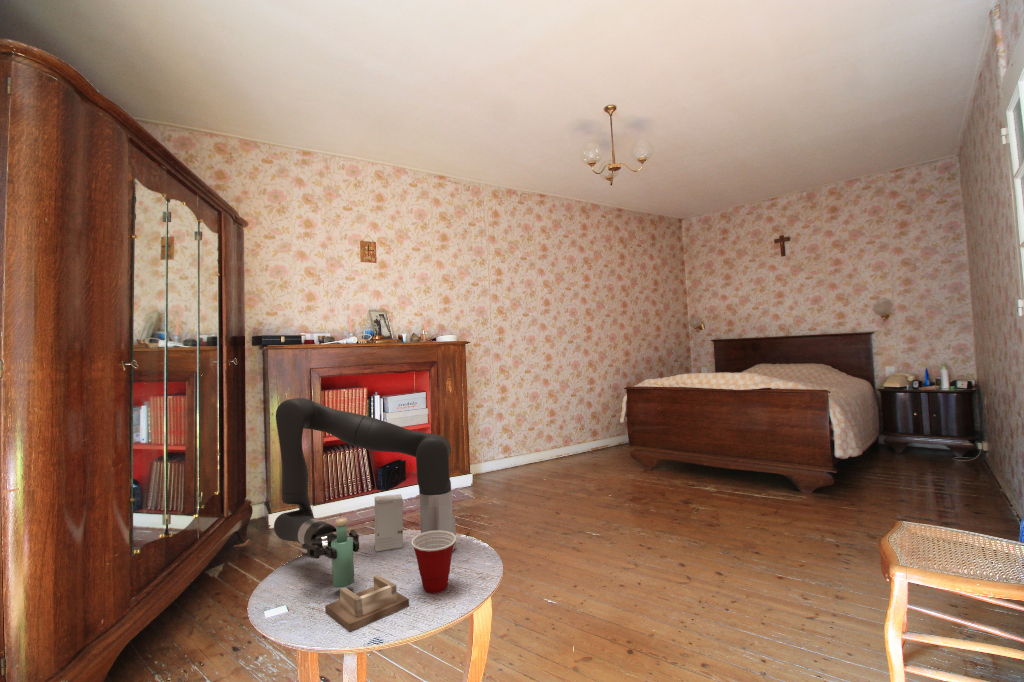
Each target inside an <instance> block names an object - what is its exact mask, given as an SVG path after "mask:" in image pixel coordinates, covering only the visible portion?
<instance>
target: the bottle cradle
mask: <svg viewBox="0 0 1024 682" xmlns="http://www.w3.org/2000/svg"><path fill="white" fill-rule="evenodd" d="M372 579H373V586H372V587H369V588H367V589H365V590H361V591H359V592H356V593H354V592H353V591H351V590H350V589H348V588H347V587H341V588H339V599H337V600H336V601H334V602H331V603H328V604H326V605H324V606H325V607H324V609H325V610H324V611H325V612H324V613H326V614H327V616H329V617H330V618H332V619H333V620H334V621H335V622H337V623H338V624H339V625H341V626H342V627H343V628H344V629H345V630H347V631H348V632H352V631H355V630H357V629H359V628H362V627H364V626H366V625H369V624H371V623H373V622H376V621H378V620H380V619H383V618H384V617H388V616H389V615H391V614H394V613H396V612H398V611H401V610H403V609H405V608H408V607H410V599H409V598H408V597H406V596H404V595H402V594H401V593H399V592H397V591H398V590H397V584H395V583H393V582H392V581H390V580H388V579H387V578H385V577H383V576H381V575H379V574H377V575H374V576H373V578H372Z"/></svg>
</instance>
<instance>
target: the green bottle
mask: <svg viewBox="0 0 1024 682" xmlns="http://www.w3.org/2000/svg"><path fill="white" fill-rule="evenodd" d="M347 526H348V519H347V517H338V518H336V519H335V528H336V534H337V539H335V540H333V541H332V542H331V547H332V548H334V549H336V555H337V558H336V559H334V560H333V559H331V577H332V579H331V580H332V586H333V587H334V588H337V589H338V588H339V589H341V588H344V587H345V588H347V587H348V586H351V585H353V584H354V582H355V562H354V561H355V558H354V551H353V538H351V537H347V534H348V529H347Z"/></svg>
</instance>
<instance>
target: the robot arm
mask: <svg viewBox="0 0 1024 682" xmlns="http://www.w3.org/2000/svg"><path fill="white" fill-rule="evenodd" d="M275 421H276V422H275V423H276V430H277V436H278V442H279V443H278V444H279V450H280V459H281V501H282V503H283V504H286V505H297V506H298V509H297V510H292V511H288V512H287V511H286V512H283V513H281V514H279V515H278V516H277V517H276V518H275V521H274V524H273V530H274V533H275V535H276V536H277V538H279V539H281V540H282V541H287V542H298V543H299V544H301V552H302V553H301V555H302V556H304V557H307V558H311V559H315V560H316V559H319V558H321V556H322V557H323V558H328V559H331V560H332V559H333V560H334V559H336V558H337V555H336V549H334V548H332V547H331V542H332V541H333V540H335V539H337V534H336V526H334V525H333V524H330V523H328V522H326V521H324V520H321V519H318V518H315V516H314V513H313V510H312V506H311V502H310V499H309V471H308V465H307V461H306V458H305V455H304V449H303V432H304V429H307V430H314V431H318V432H322V433H323V432H324V433H326V434H330V435H331V436H333V437H335V438H337V439H339V441H341V442H344V443H346V444H348V445H351V446H353V447H357V448H361V449H363V450H367V451H373V452H381V453H382V452H383V453H397V454H398V453H399V454H404V455H408V456H411V457H412V458H413V457H414V458H415V464H416V465H415V467H416V479H417V481H416V482H417V485H418V490H419V491H418V493H419V496H418V497H419V521H420V522H419V523H420V525H419V526H420V534H421V533H424V532H429V531H438V530H441V531H448V532H451V533H453V534H454V535H455V536H456V537H457V533H456V530H457V529H456V516H455V515H453V504H452V503H453V501H452V481H451V478H450V465H449V463H450V462H449V458H450V456H451V454H452V446H451V444H450V442H449V440H448V439H447V438H446V437H444V436H443V435H441V434H436V433H428V432H424V431H418V430H417V431H416V430H414V429H413V430H412V429H408V428H405V427H403V426H399V425H396V424H394V423H392V422H388V421H384V420H382V419H378V418H374V417H373V416H372V417H371V416H368V415H362V414H359V413H354V412H350V411H344V410H338V409H335V408H331V407H329V406H326V405H323V404H321V403H319V402H316V401H313V400H311V399H308V398H306V397H305V398H304V397H298V398H297V397H296V398H290V399H285V400H284V401H282V402H281V403H280V404H279V405H278V407H277V409H276V410H275ZM347 537H351V538H353V553H358V552H359V550H360V541H359V540H360V539H359V537H360V535H359V533H358V532H357V531H356V530H355V529H351V530H349V532H348V533H347ZM454 549H455V550H457V541H456V542H455V543H454V546H453V551H454Z"/></svg>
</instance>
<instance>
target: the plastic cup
mask: <svg viewBox="0 0 1024 682" xmlns="http://www.w3.org/2000/svg"><path fill="white" fill-rule="evenodd" d="M455 542H456V543H457V535H456V536H455V535H454V534H453V533H451V532H448V531H441V530H438V531H429V532H424V533H421V532H420V533H419V534H417V535H416V536H414V537H413V538H412V539H411V546H412V547H413V550H414V553H415V556H416V561H417V567H418V571H419V576H420V579H421V584H422V588H423V591H424V592H425V593H427V594H439V593H441V592H442V593H443V592H444V591H446V590H447V589H448V585H449V579H450V578H449V577H450V571H451V565H452V564H451V563H452V554H453V552H454V550H453V546H454V543H455ZM452 551H453V552H452Z"/></svg>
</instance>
